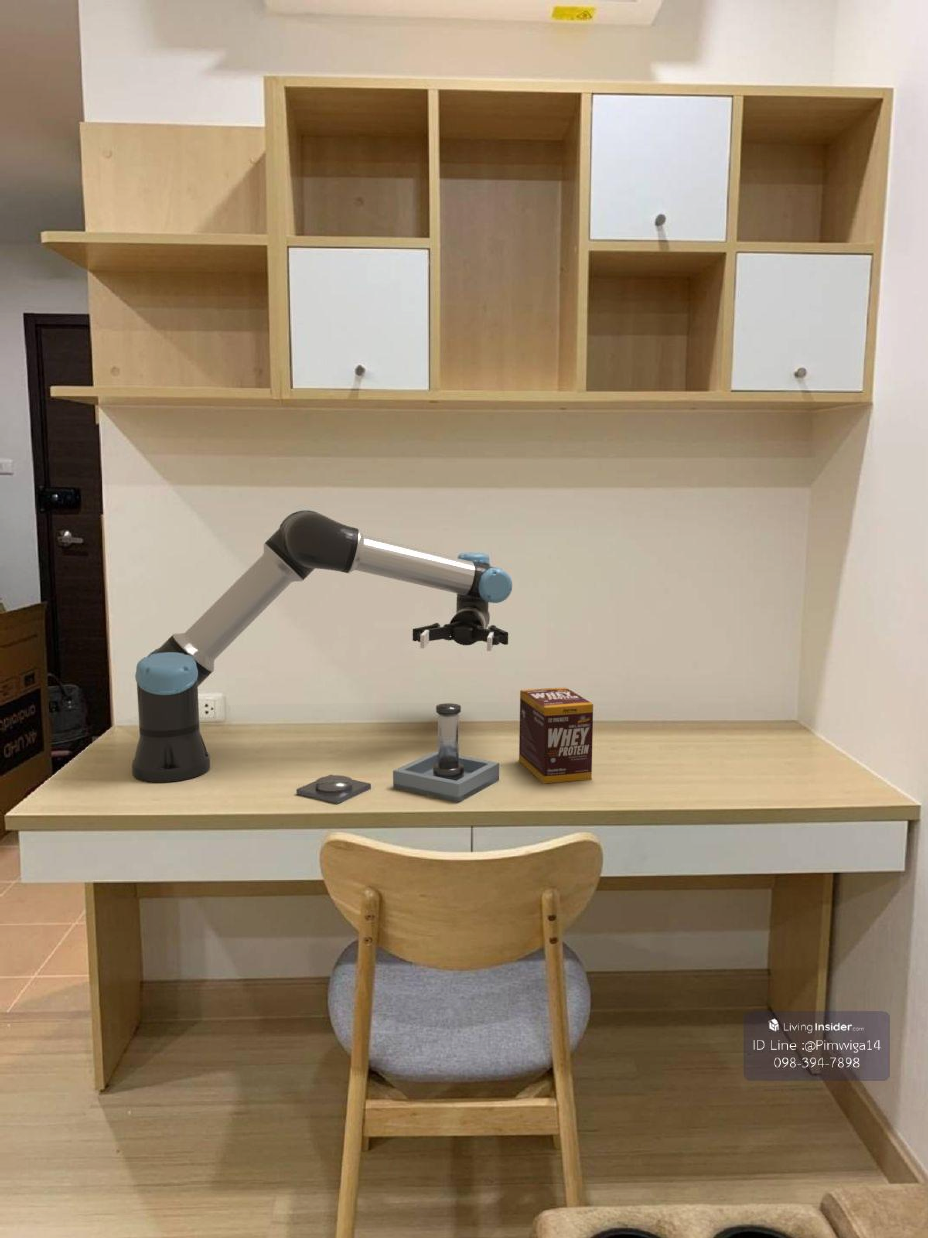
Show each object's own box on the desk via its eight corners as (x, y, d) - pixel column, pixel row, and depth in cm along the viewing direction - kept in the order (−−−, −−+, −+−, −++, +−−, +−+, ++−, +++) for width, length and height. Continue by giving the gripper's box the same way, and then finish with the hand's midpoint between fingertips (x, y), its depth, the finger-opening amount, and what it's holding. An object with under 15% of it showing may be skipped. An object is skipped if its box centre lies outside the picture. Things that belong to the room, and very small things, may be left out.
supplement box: (543, 784, 181) (545, 707, 179) (518, 761, 196) (519, 689, 193) (592, 779, 184) (594, 703, 182) (564, 757, 199) (565, 686, 196)
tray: (393, 788, 179) (393, 770, 178) (436, 767, 192) (436, 750, 191) (458, 802, 171) (458, 784, 171) (499, 779, 184) (499, 762, 183)
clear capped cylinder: (428, 780, 180) (427, 708, 178) (441, 771, 186) (441, 701, 183) (456, 785, 178) (456, 711, 175) (468, 775, 183) (468, 704, 181)
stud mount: (296, 794, 175) (296, 784, 175) (330, 779, 184) (330, 769, 184) (337, 804, 170) (337, 793, 170) (370, 788, 179) (370, 778, 178)
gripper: (522, 644, 207) (516, 663, 186) (412, 640, 210) (394, 658, 189) (523, 611, 206) (517, 626, 185) (412, 607, 209) (394, 622, 188)
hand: (455, 643), depth 187 cm, fingers open, 13 cm apart
